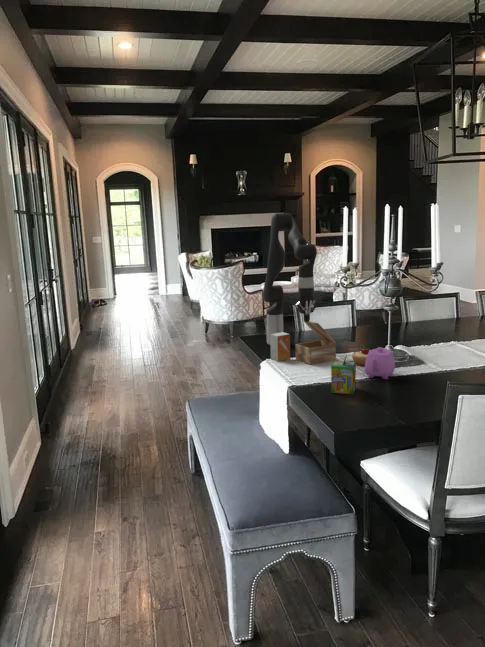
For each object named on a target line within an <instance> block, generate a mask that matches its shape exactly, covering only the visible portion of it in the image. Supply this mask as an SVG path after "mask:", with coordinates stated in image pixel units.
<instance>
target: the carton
mask: <svg viewBox="0 0 485 647" xmlns="http://www.w3.org/2000/svg"><path fill="white" fill-rule="evenodd" d="M294 348H295V351H294V352H295V354H294V355H295V361H298V362H301V363H303V362H304V364H307V365H315V364H321V363H326V362H330V361H334V360H335V359H337V343H332V342H328V341H325V340H321V339H317V340H312V341H311V340H310V341H306V342H300V343H295V346H294Z"/></svg>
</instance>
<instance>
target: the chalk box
mask: <svg viewBox="0 0 485 647" xmlns="http://www.w3.org/2000/svg"><path fill="white" fill-rule="evenodd" d="M346 359H347V354H345V357H344V360H341V359H340V360H333V362H332V364H331V370H330V371H331V373H330V374H331V376H330V378H331V379H330V380H331V382H330V386H331V387H330V393H331V394H342V395H346V394H347V395H354V393H355V390H356V379H357V378H356V377H357V376H356V373H357V369H356V368H357V367H356V366H357V365H356V361H353V360H346Z"/></svg>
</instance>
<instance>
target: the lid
mask: <svg viewBox="0 0 485 647" xmlns="http://www.w3.org/2000/svg"><path fill="white" fill-rule="evenodd" d="M302 322H304V324H306V326H307V327H309V329H311V331H312V332H313V333H314V334H315V335H316V336H317V337H318V338H319V340H324V341H327V342H331V343H335V344H337V342H336V340H335V339H334V338H332V337H331V335H330V334H329V333H328V331H326V330H325V329H324V328H323V327H322V326H321V325H320V324H319V323H318V322H314V321H311V320H309V322H305V321H304V319H303V320H302Z"/></svg>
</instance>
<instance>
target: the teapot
mask: <svg viewBox="0 0 485 647" xmlns="http://www.w3.org/2000/svg"><path fill="white" fill-rule="evenodd" d="M369 350H370V351H369V353H368V355H367V358H366V362H365V366H364V372H365V374H366V375H367V377H368V378H370V379H372V378H373V379H374V377H381V378H382V379H383V380H389V377H390V376H391V375H393V373H394V372H395V368H396V365H395V364H396V363H395V359H394V354H393V351H392V350H391V349H388V348H386V347H385V348H384V347H383V346H382V347H380V346H379V347H376V348H373V349H369Z"/></svg>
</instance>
